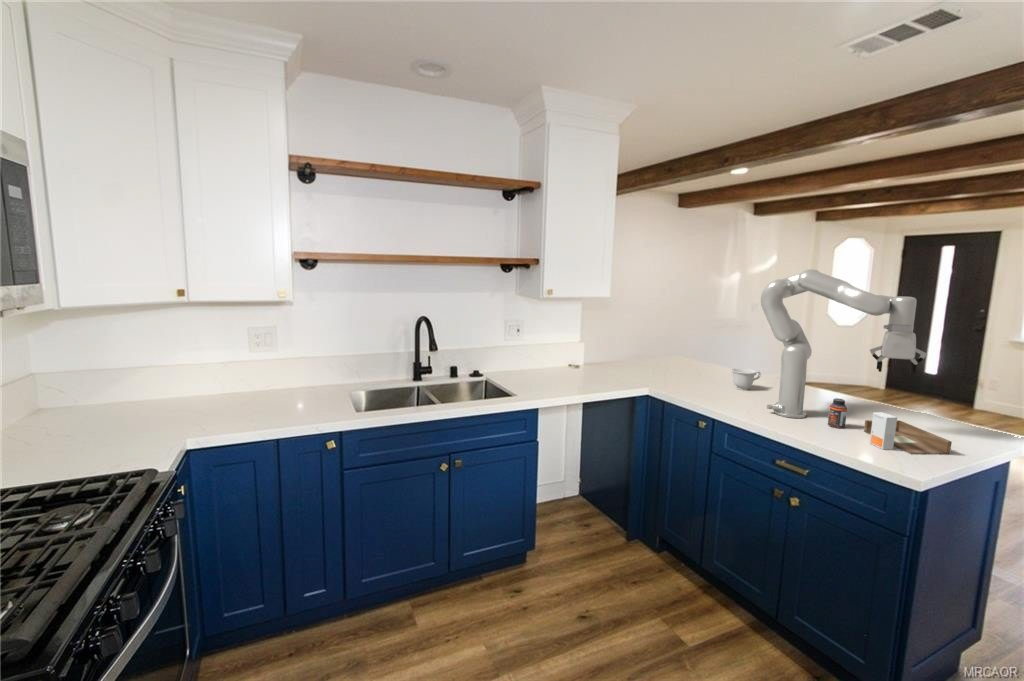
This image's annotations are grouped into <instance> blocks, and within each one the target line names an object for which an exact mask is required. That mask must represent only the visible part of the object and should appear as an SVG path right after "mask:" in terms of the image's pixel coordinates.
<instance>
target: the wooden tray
mask: <svg viewBox="0 0 1024 681" xmlns="http://www.w3.org/2000/svg"><path fill="white" fill-rule="evenodd" d="M872 420H873V419H871V420H867V419H865V421H864V428H863V429H864V430H863V432H865V433H866V434H869V435H871V427H872ZM952 443H953V442H952V441H951V440H949V439H946V438H943V437H942V436H939V435H936V434H934V433H931V432H930V431H927V430H923V429H922V428H919V427H917V426H915V425H912V424H909V423H907V422H906V421H905V422H904V421H903V420H898V419H897V423H896V431H895V438H894V446H893V447H895V448H897V449H899V450H901V451H904V452H905V453H908V454H910V455H950V454H951V449H952Z"/></svg>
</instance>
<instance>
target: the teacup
mask: <svg viewBox="0 0 1024 681" xmlns="http://www.w3.org/2000/svg"><path fill="white" fill-rule="evenodd" d="M731 372H732V382H733V384H734V386H736V389H737V390H740V391H749V388H750V387H752V386H753V383H754V381H756V380H759V379H760V378H761V377H762V373H761V371H760V370H754V369H750V368H743V367H742V368H741V367H736V368H735V367H734V368H732V369H731ZM757 374H758V375H757ZM756 375H757V377H755V376H756Z"/></svg>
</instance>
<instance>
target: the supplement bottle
mask: <svg viewBox="0 0 1024 681" xmlns="http://www.w3.org/2000/svg"><path fill="white" fill-rule="evenodd" d="M832 400H833V401H832V403H830V405H829V408H828V409H829V410H828V416H827V426H829V427H831V428H835V429H844V428H845V427H846V421H847V415H848V414H847V413H848V412H847V411H848V406H847V404H846V400H845V399H842V398H833V399H832Z"/></svg>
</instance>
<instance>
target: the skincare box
mask: <svg viewBox="0 0 1024 681" xmlns="http://www.w3.org/2000/svg"><path fill="white" fill-rule="evenodd" d="M871 420H872V427H871V435H870V434H869V435H870V437H869V444H870V445H873V446H874V447H877V448H878V449H881V450H893V449H894V447H895V446H894V438H895V431H896V423H897V420H898V417H897V416H894V415H893V414H889V413H886V412H884V411H883V412H882V411H881V412H877V411H875V412H873V413H872V419H871Z"/></svg>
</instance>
